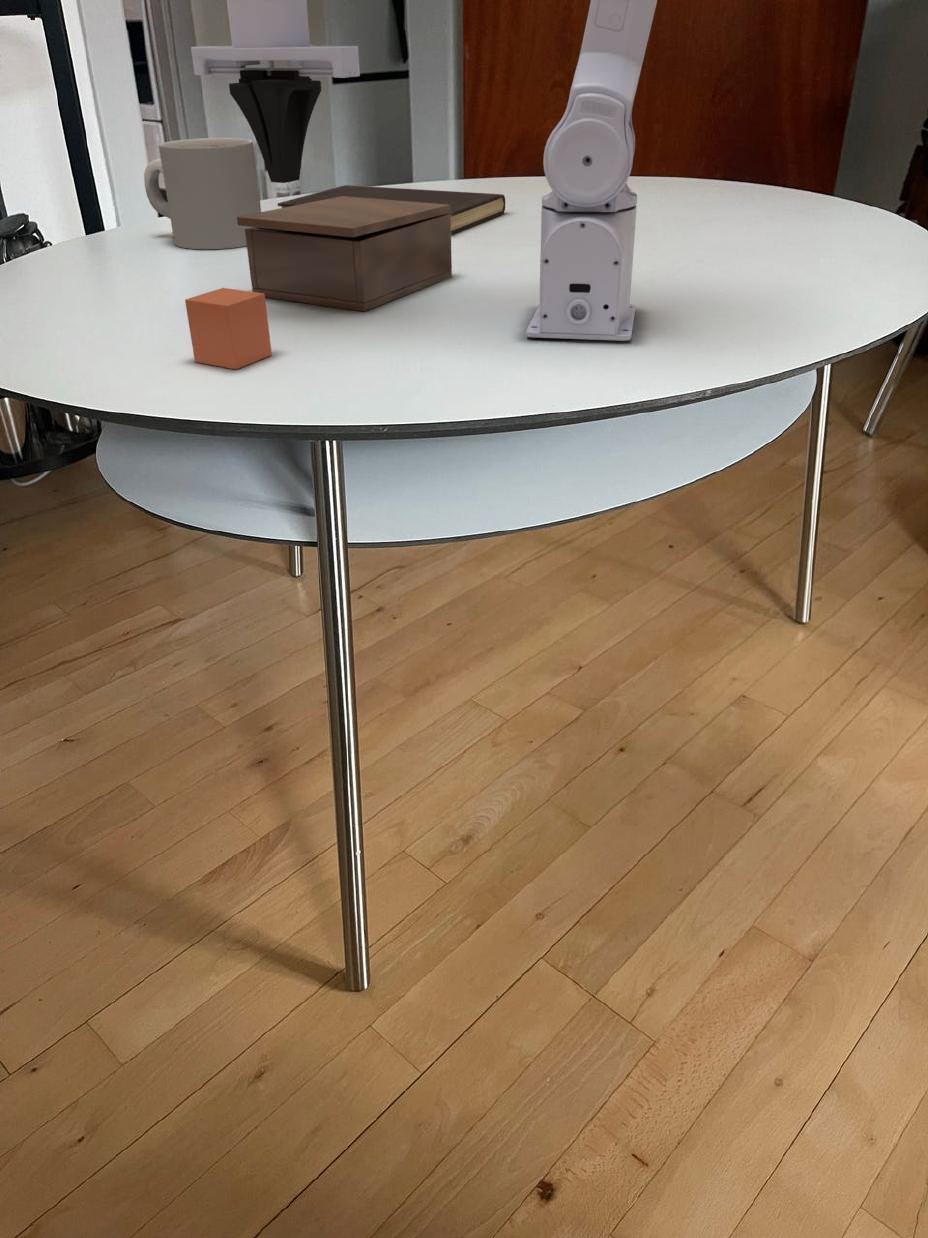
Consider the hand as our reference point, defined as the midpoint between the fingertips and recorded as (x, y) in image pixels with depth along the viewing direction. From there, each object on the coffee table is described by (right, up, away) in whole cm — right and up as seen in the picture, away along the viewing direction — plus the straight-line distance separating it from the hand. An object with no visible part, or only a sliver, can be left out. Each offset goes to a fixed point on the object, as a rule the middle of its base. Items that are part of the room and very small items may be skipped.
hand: (285, 180), depth 78 cm
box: (+4, -4, +14) cm, 15 cm away
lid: (+4, +1, +10) cm, 11 cm away
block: (-3, -15, -5) cm, 16 cm away
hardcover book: (+5, +15, +44) cm, 47 cm away
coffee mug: (-15, +8, +34) cm, 39 cm away
